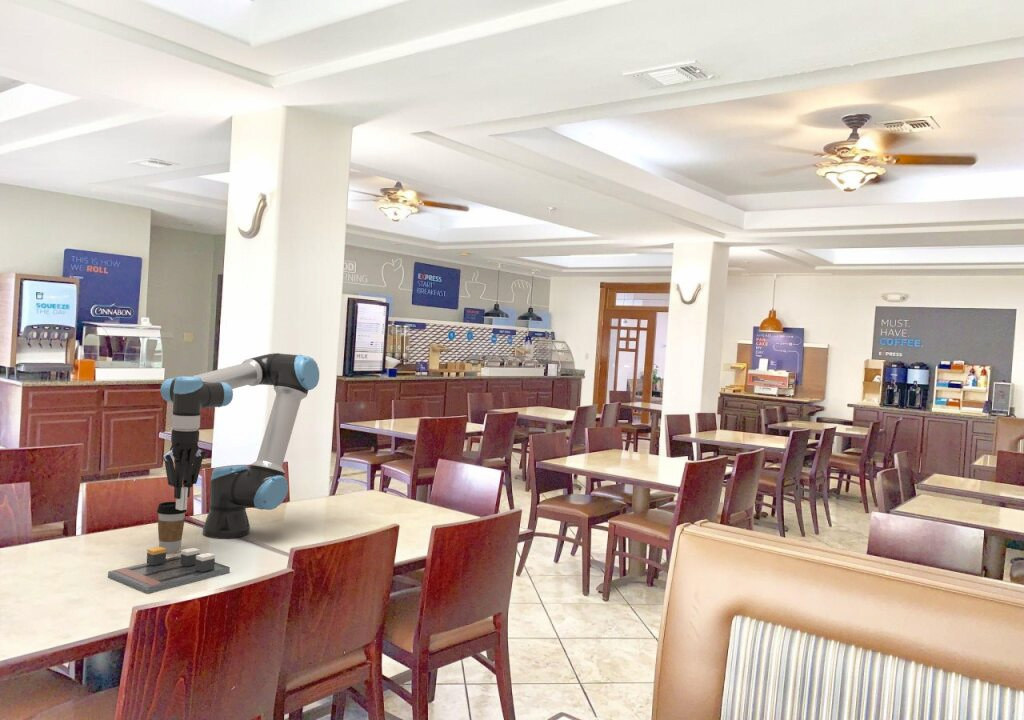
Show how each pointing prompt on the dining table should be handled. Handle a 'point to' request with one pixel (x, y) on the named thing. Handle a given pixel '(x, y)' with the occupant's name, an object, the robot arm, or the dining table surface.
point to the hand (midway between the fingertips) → (181, 509)
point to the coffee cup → (170, 526)
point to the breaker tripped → (156, 555)
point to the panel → (163, 575)
